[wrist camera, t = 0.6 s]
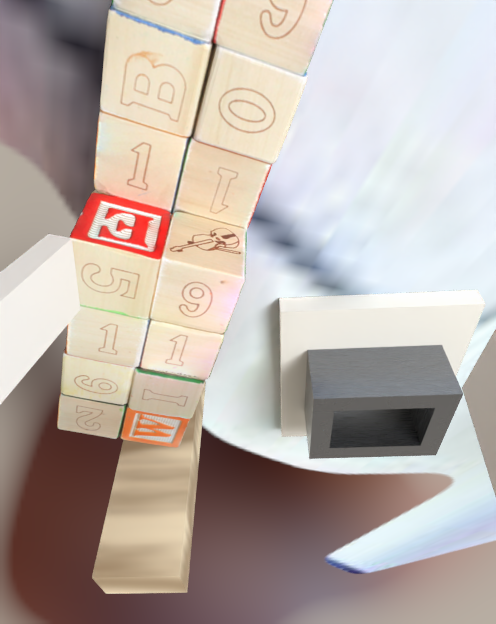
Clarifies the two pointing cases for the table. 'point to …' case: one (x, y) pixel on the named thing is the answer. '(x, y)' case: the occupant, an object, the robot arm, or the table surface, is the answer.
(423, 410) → the grey rectangular socket
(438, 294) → the base board
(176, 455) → the ash slat
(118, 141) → the stack of blocks
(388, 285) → the table surface
